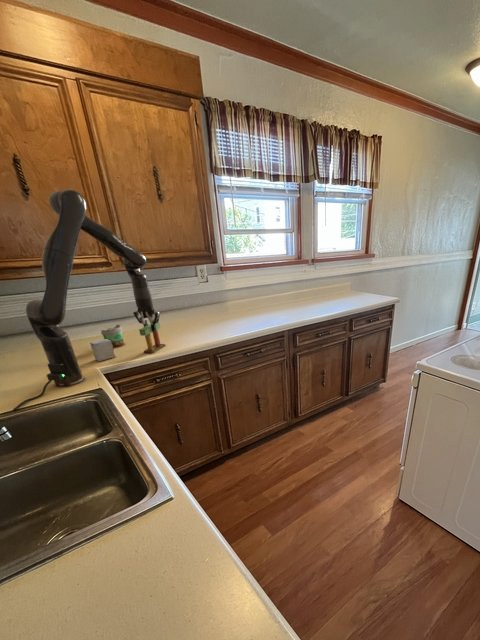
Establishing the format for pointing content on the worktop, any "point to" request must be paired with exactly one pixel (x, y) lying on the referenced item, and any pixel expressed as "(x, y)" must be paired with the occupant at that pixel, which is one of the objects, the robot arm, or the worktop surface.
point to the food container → (114, 336)
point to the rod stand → (150, 346)
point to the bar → (148, 329)
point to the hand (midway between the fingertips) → (150, 331)
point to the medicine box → (102, 350)
